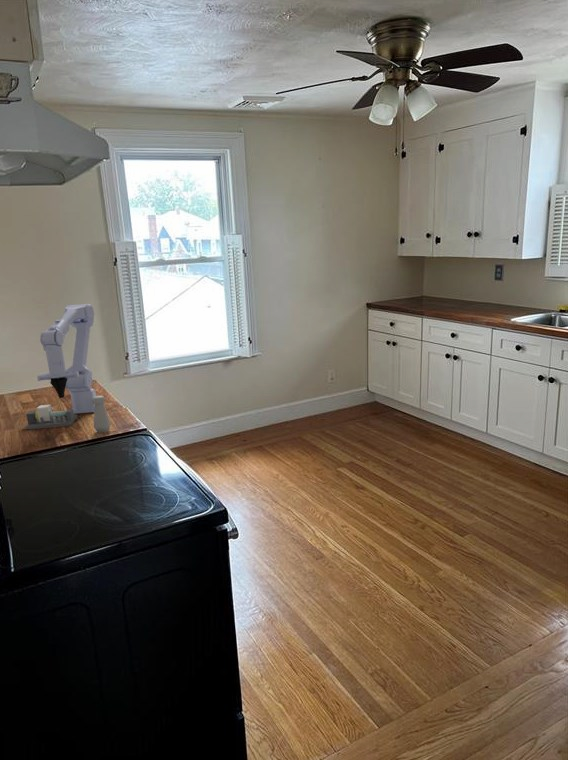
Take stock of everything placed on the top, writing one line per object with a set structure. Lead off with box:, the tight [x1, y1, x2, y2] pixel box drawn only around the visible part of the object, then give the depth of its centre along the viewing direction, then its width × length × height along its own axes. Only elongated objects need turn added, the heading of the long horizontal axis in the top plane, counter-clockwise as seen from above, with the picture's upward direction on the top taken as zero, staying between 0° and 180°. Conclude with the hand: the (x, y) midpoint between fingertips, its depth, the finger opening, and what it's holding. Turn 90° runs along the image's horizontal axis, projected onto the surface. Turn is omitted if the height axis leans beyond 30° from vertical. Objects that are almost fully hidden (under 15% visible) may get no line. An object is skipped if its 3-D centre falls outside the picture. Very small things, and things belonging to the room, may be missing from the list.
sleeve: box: [36, 404, 53, 422], centre depth 205 cm, size 4×4×5 cm
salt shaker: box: [92, 395, 112, 434], centre depth 192 cm, size 6×6×13 cm
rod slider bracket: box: [25, 408, 78, 430], centre depth 206 cm, size 16×10×5 cm, turn 97°
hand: (61, 397), depth 205 cm, fingers closed
